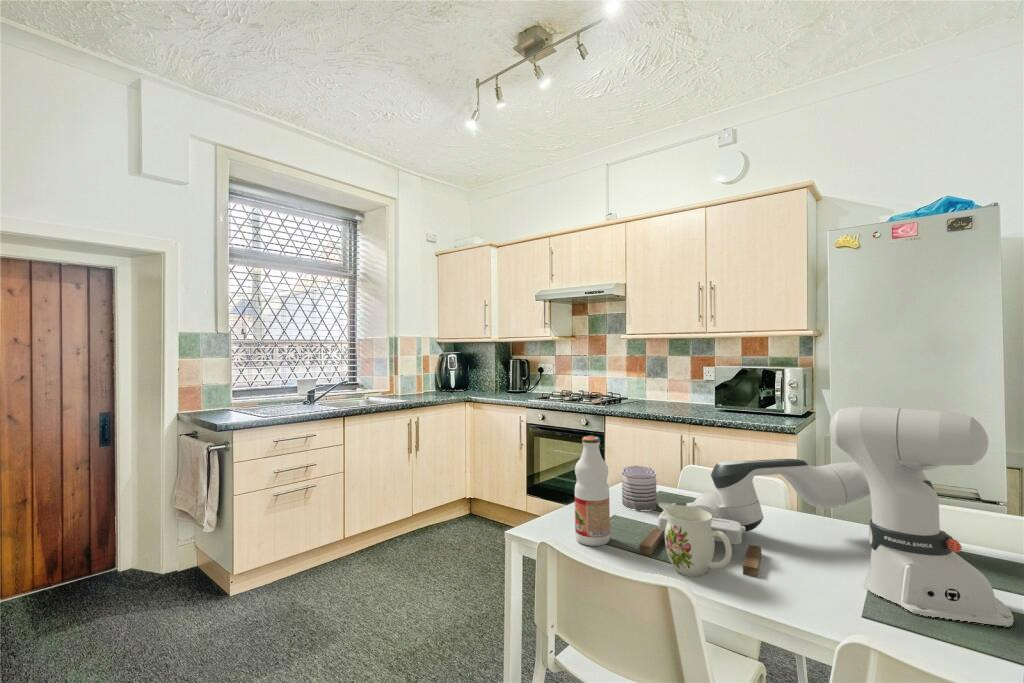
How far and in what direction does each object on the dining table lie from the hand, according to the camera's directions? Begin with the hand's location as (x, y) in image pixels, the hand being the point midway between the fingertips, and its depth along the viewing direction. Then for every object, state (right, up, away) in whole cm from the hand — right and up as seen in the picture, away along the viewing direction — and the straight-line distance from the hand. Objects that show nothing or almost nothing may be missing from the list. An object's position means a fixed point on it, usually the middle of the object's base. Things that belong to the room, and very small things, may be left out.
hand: (694, 537), depth 116 cm
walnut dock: (+3, -6, +4) cm, 8 cm away
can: (-2, -7, +42) cm, 43 cm away
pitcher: (-2, -6, -5) cm, 8 cm away
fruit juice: (-23, -7, +14) cm, 27 cm away
